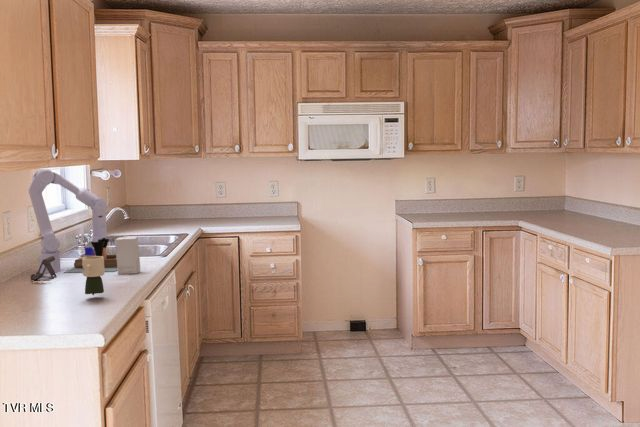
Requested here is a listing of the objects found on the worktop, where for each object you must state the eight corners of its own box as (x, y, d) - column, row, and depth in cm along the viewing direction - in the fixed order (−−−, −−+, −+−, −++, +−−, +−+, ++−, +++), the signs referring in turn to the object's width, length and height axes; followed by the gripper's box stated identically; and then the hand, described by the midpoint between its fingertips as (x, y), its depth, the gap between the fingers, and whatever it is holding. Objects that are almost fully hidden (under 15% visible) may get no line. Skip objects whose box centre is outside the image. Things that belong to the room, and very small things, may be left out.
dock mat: (114, 271, 256) (114, 271, 256) (64, 272, 255) (64, 272, 255) (125, 265, 272) (125, 264, 272) (77, 266, 271) (77, 265, 271)
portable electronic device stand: (39, 276, 249) (37, 256, 248) (58, 276, 249) (57, 255, 248) (30, 280, 240) (29, 259, 239) (51, 280, 240) (50, 259, 240)
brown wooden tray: (119, 267, 265) (119, 259, 265) (72, 268, 264) (72, 260, 264) (128, 261, 279) (127, 254, 279) (83, 262, 278) (83, 255, 278)
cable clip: (94, 256, 301) (94, 244, 301) (103, 256, 301) (102, 244, 300) (82, 260, 289) (81, 247, 289) (91, 260, 289) (90, 248, 288)
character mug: (90, 291, 218) (88, 255, 217) (110, 290, 218) (108, 254, 217) (78, 297, 208) (76, 260, 206) (99, 297, 207) (97, 259, 206)
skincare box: (140, 271, 257) (139, 236, 256) (136, 274, 251) (135, 238, 250) (120, 271, 257) (119, 236, 255) (116, 274, 251) (114, 238, 249)
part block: (103, 260, 270) (103, 248, 269) (94, 260, 270) (94, 249, 269) (106, 258, 274) (106, 247, 273) (97, 258, 274) (97, 247, 273)
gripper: (103, 227, 263) (105, 258, 264) (113, 223, 278) (114, 253, 279) (87, 227, 263) (88, 258, 264) (97, 224, 277) (99, 253, 279)
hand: (100, 256), depth 272 cm, fingers closed on part block, 4 cm apart
